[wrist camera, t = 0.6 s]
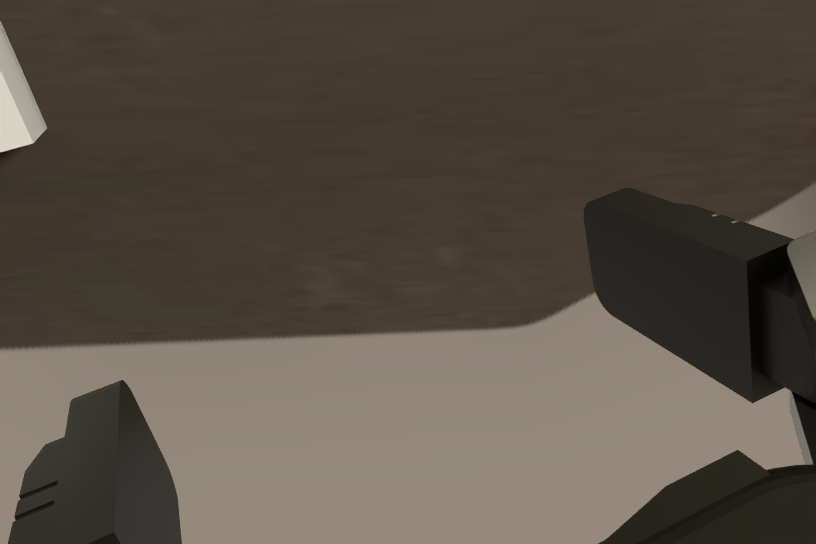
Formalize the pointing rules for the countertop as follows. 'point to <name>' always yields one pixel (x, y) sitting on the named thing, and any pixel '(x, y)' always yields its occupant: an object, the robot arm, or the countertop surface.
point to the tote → (16, 102)
